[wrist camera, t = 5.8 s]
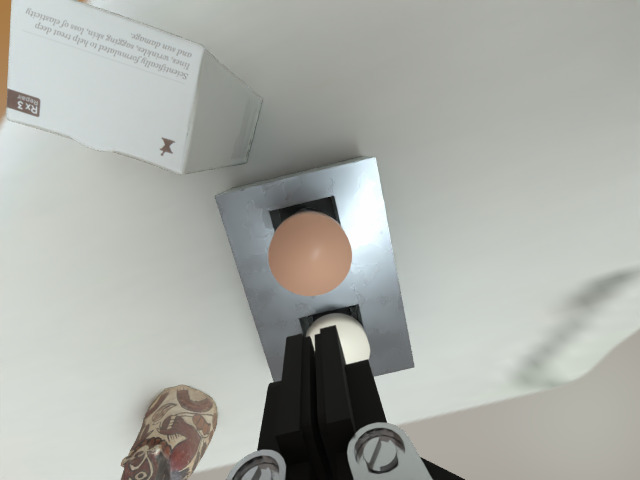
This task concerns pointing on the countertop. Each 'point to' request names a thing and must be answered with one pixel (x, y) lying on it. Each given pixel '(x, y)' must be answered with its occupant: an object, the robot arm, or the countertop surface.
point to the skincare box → (125, 88)
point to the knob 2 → (343, 333)
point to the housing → (361, 281)
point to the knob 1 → (310, 253)
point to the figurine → (172, 436)
